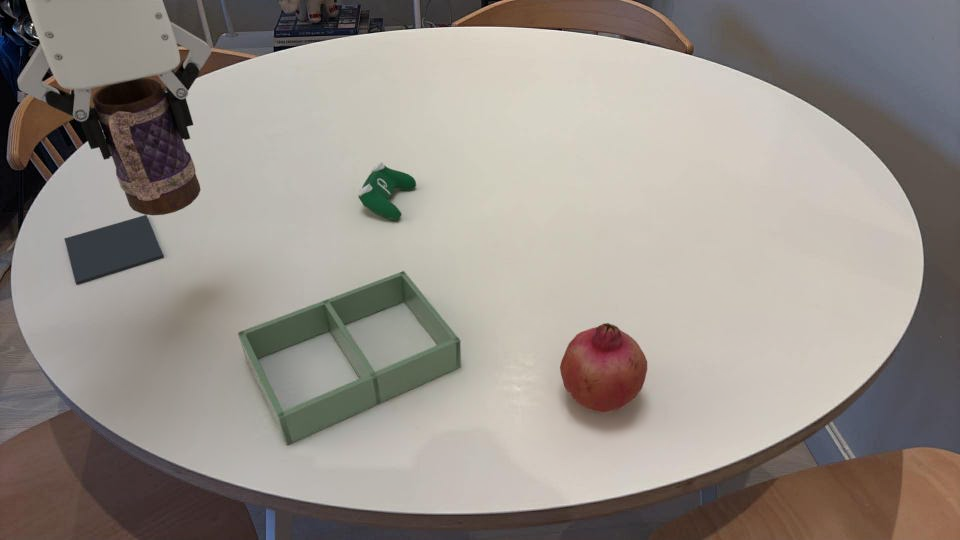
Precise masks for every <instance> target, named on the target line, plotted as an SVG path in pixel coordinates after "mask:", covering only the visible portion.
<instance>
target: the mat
mask: <svg viewBox="0 0 960 540" xmlns="http://www.w3.org/2000/svg"><path fill="white" fill-rule="evenodd" d="M64 243H65V246H66V251H67V255H68V258H69V262H70V266H71V271H72V275H73V278H74V283H75V285H80V284H84V283H86V282H89V281H94V280H96V279H100V278H103V277H106V276H110V275H112V274H115V273H118V272H121V271H125V270H127V269H131V268H135V267H137V266H140V265H144V264H147V263H150V262H153V261H156V260H160V259H163V258H165V256H164V254H163V252H162V249H161V246H160V244H159V241H158V239H157V236H156V234H155V232H154V229H153V227H152V225H151V222H150V219H149V218H148V215H145V214H143V215H140V216H137V217H134V218H131V219H130V218H129V219H127V220H123V221H120V222H117V223H113V224H109V225H107V226H103V227H99V228H95V229H92V230H89V231H86V232H82V233H78V234H74V235H71V236H68V237H65V238H64Z"/></svg>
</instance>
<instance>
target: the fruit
mask: <svg viewBox="0 0 960 540" xmlns="http://www.w3.org/2000/svg"><path fill="white" fill-rule="evenodd" d="M559 369H560V370H559V371H560V377H561V380H562V383H563V386H564V389H566V391H567V393H568V394H570V396H571V397H572V398H573V400H574V401H575V402H576V403H578V404H580V406H582V407H584V408H586V409H587V410H590V411H594V412H598V413H601V414H603V413H608V412H612V411H617V410H619V409H621V408H623V407H625V406H627V405H629V403H631V402H632V401H633V400H635V399H636V398H637V396H638V395H639V393H640V392H641V391H642V389H643V387H644V384H645V381H646V377H647V372H648V359H647V357H646V355H645V352H644V351H643V350H642V348H641V346H640V345H639V343H638V341H636V340H635V339H634V338H633V337H632V336H630V335H629V334H628V333H626V332H625V331H623V330H622V329H620V328H619V327H618V326H617V325H614V324H612V323H609V322H605V323H603V324H600V325H598V326H597V327H591V328H589V329H586V330H583V331H581V332H579V333H577V334H576V335H575V336H574V337H573V338H572V339H571V340H570V342H569V343H568V344H567V346H566V349H565V351H564V354H563V356H562V359H561V362H560V365H559Z"/></svg>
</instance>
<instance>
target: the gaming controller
mask: <svg viewBox="0 0 960 540" xmlns="http://www.w3.org/2000/svg"><path fill="white" fill-rule="evenodd" d="M416 186H417V181H416V179H415V178H414V177H413V176H412V175H410V173H409V174H408V173H406V172H403V171H400V170H396V169H392V168H389V167H387V165H385V164H384V163H383V162H380V163H378V164H377V165H375V166H374V167H373V169H372V170H371V172H370V173H369V175H368V177H367V178H366V179H365V181H364V183H363V185H362V187H361V188H360V190H359V192H358V200H359V201H360V202H361V203H362V206H364V208H367V209H368V210H369V211H370V212H372V213H374V214H376V215H378V216H380V217H383V218H385V219H388V220H392V221H396V222H397V221H399V220H400V218H401V217H402V212H401V210H400V209H399V208H398V207H397V205H395V204H394V203H392V202H391V201H390V198H391V196H392V195H393V193H394V191H395V190H403V191H411V190H415V188H416Z"/></svg>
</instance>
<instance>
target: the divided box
mask: <svg viewBox="0 0 960 540" xmlns="http://www.w3.org/2000/svg"><path fill="white" fill-rule="evenodd" d="M401 303H405V305H406V306H407V308H408V309H409V310H410V311H411V313H412V314H413V315H414V316H415V318H416V319H417V320H418V321H419V323H420V324H421V325H422V327H423V328H424V330H425V331H426V332H427V333H428V335H429V336H430V337H431V338H432V340H433V341H434V342H435V343H436V345H434V346H432V347H430V348H428V349H425V350H423V351H421V352H418V353H417V354H414V355H412V356H411V355H410V356H409V357H407V358H404V359H402V360H400V361H397V362H395V363H393V364H390V365H388V366H386V367H383V368H381V369H379V370H377V371H375V370H374V368H373V366H372V365H371V364H370V362H369V361H368V359H367V358H366V356H365V354H364V353H363V351H362V350H361V348H360V346H359V345H358V344H357V342H356V341H355V338H354V337H353V336H352V334H351V333H350V331H349V329H348V328H347V327H346V325H348V324H350V323H352V322H355V321H358V320H361V319H363V318H365V317H368V316H370V315H373V314H376V313H378V312H382V311H384V310H386V309H389V308H391V307H394V306H396V305H398V304H401ZM327 332H330V334H331V335H332V337H333V338H334V340H335V342H336V343H337V345H338V346H339V349H340V350H341V352H342V353H343V355H344V356H345V358H346V359H347V361H348V362H349V364H350V366H351V368H352V369H353V371H354V372H355V373H356V375H357V377H358V379H356V380H353V381H351V382H348V383H346V384H343V385H342V386H339V387H337V388H334V389H332V390H330V391H328V392H325V393H323V394H321V395H318V396H316V397H313V398H311V399H309V400H306V401H304V402H301V403H300V404H297V405H294V406H292V407H290V408H288V409H286V410H283V408H282V406H281V404H280V401H279V400H278V398H277V396H276V394H275V391H274V389H273V387H272V386H271V383H270V381H269V380H268V377H267V375H266V374H265V371H264V369H263V368H262V365H261V362H260V361H259V359H260V358H263V357H266V356H269V355H271V354H274V353H276V352H278V351H281V350H284V349H287V348H289V347H291V346H294V345H296V344H297V345H298V344H299V343H301V342H304V341H307V340H310V339H312V338H314V337H318V336H319V335H322V334H325V333H327ZM237 335H238V338H239V341H240V344H241V347H242V350H243V354H244V357H245V360H246V362H247V365H248V366H249V368H250V370H251V372H252V375H253V377H254V379H255V381H256V383H257V385H258V387H259V390H260V391H261V394H262V396H263V398H264V400H265V402H266V404H267V406H268V408H269V411H270V413H271V415H272V417H273V419H274V420H275V424H276V425H277V427H278V430H279V431H280V434H281V436H282V438H283V441H284V442H285V444H286V446H290V445H291V444H293V443H294V442H297V441H299V440H302V439H304V438H306V437H309V436H310V435H313V434H315V433H317V432H319V431H322V430H324V429H326V428H329V427H332V426H333V425H335V424H337V423H340V422H342V421H344V420H347V419H349V418H351V417H353V416H355V415H357V414H359V413H362V412H365V411H366V410H369V409H370V408H373V407H375V406H377V405H380V404H382V403H384V402H386V401H388V400H390V399H391V400H392V399H393V398H395V397H398V396H400V395H403V394H405V393H407V392H409V391H411V390H413V389H416V388H417V387H418V388H419V387H420V386H422V385H424V384H427V383H428V382H431V381H433V380H435V379H438V378H440V377H442V376H444V375H446V374H449V373H451V372H453V371H455V370H457V369H460V368H462V352H461V351H462V350H461V349H462V348H461V347H462V346H461V339H460V338H459V337H458V336H457V334H456V333H455V332H454V331H453V330H452V328H451V327H450V326H449V324H448V323H447V322H446V321H445V319H444V318H443V317H442V316H441V315H440V314H439V312H438V311H437V309H436V308H435V307H434V306H433V305H432V303H431V302H430V301H429V300H428V299H427V298H426V296H425V295H424V294H423V292H422V291H421V290H420V288H418V286H417V285H416V283H414V282H413V280H412V279H411V278H410V276H409V275H408V274H407V273H406V271H405V270H402V271H400V272H397V273H394V274H391V275H389V276H386V277H384V278H381V279H377V280H376V281H373V282H370V283H367V284H365V285H362V286H360V287H357V288H354V289H352V290H349V291H346V292H344V293H340V294H338V295H335V296H331V297H330V298H327V299H325V300H321V301H319V302H316V303H313V304H311V305H308V306H306V307H302V308H300V309H298V310H295V311H292V312H290V313H286V314H284V315H282V316H278V317H276V318H274V319H270V320H269V321H266V322H262V323H260V324H258V325H255V326H252V327H249V328H246V329H244V330H242V331H239V332H237Z"/></svg>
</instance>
